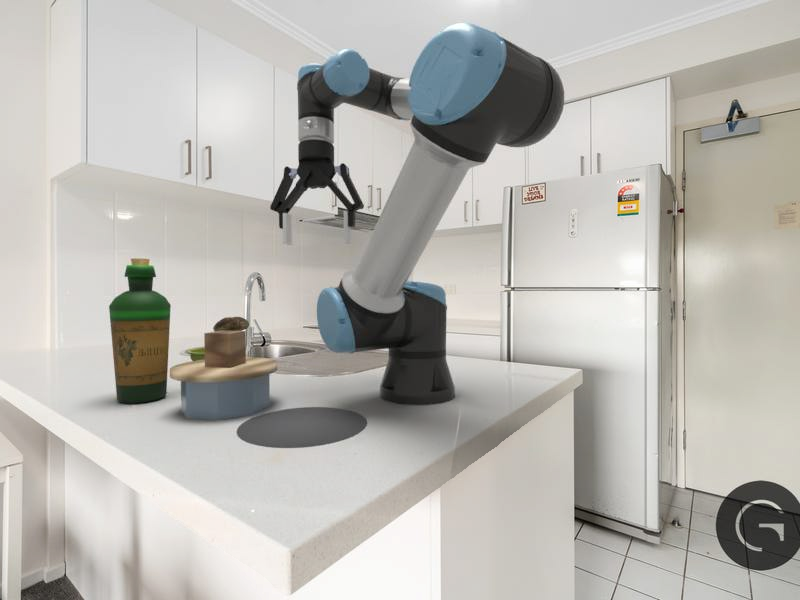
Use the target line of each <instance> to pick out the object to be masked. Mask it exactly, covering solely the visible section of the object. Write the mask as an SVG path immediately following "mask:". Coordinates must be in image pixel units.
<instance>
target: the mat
mask: <svg viewBox="0 0 800 600" xmlns="http://www.w3.org/2000/svg"><path fill="white" fill-rule="evenodd" d="M367 424H368V421H367V419H366V417H364V416H363V414H360V413H358V412H356V411H352V410H349V409H344V408H339V407H327V406H308V407H306V406H305V407H294V408H293V407H292V408H286V409H281V410H274V411H270V412H267V413H266V412H265V413H262V414H260V415H257V416H254V417H251V418H249V419H247V420H245V421H244V422H242V423H241V424H240V425H239V426H238V427H237V429H236V435H237V437H238V438H239V439H240V440H241V441H244V442H246V443H247V444H250V445H255V446H258V447H265V448H271V449H272V448H274V449H300V448H302V449H303V448H310V447H311V448H312V447H313V448H314V447H319V446H325V445H330V444H334V443H338V442H342V441H345V440H348V439H350V438H353V437H354V436H356V435H359V434H360V433H361V432H363V431H364V430H365V429H366V427H367Z"/></svg>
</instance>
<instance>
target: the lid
mask: <svg viewBox="0 0 800 600" xmlns="http://www.w3.org/2000/svg"><path fill="white" fill-rule="evenodd" d="M246 337H247V336H246V330H242V331H211V332H204V337H203V338H204V341H203V342H204V348H205V360H198V361H192V360H191V361H186V362H183V363H177V364H176V365H173V366H171V367H170V368H169V378H170V379H172V380H174V381H179V382H181V381H185V382H225V381H236V380H244V379H251V378H256V377H261V376H265V375H268V374H269V375H270V374H271V375H272V374H273V373H275V372H276V371H278V361H277V360H275V359H272V358H267V357H255V356H254V357H252V356H247V355H246V354H247V353H246V351H247V349H246V346H247V345H246V344H247V343H246V342H247V341H246Z"/></svg>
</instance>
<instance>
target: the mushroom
mask: <svg viewBox="0 0 800 600" xmlns="http://www.w3.org/2000/svg"><path fill="white" fill-rule="evenodd" d="M249 325H250V323H249V321H248V320H247V319H245V318H244V317H241V316H228V317H227V316H226V317H223V318H222V319H220V320H219V321H217V322H216V323H214V326H213V328H212V329H213V332H215V331H246V330H247V329H248V328H249V327H250V326H249Z"/></svg>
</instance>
